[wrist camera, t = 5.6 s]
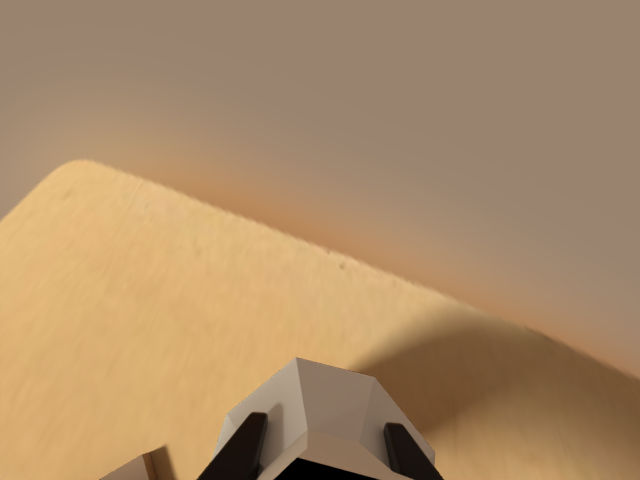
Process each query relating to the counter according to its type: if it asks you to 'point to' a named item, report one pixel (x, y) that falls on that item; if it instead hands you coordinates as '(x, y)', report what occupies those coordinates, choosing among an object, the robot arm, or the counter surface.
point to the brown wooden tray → (135, 470)
